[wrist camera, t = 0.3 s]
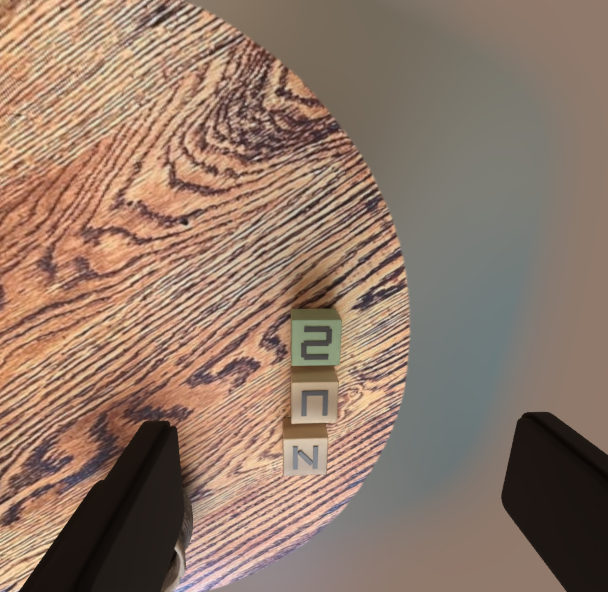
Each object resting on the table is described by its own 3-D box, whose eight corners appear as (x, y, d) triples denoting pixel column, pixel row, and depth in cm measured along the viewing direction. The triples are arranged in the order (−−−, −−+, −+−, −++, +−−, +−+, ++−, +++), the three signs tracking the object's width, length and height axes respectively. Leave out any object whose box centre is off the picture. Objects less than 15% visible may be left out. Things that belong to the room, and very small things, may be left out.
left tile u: (290, 365, 29) (291, 383, 26) (333, 364, 29) (339, 382, 26) (290, 403, 30) (291, 424, 27) (332, 402, 30) (337, 423, 27)
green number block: (290, 308, 28) (291, 320, 25) (336, 308, 28) (342, 319, 25) (290, 350, 29) (291, 366, 26) (334, 350, 29) (340, 366, 26)
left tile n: (283, 417, 30) (282, 439, 27) (324, 416, 31) (328, 438, 28) (283, 452, 31) (283, 477, 28) (323, 450, 32) (327, 475, 29)
